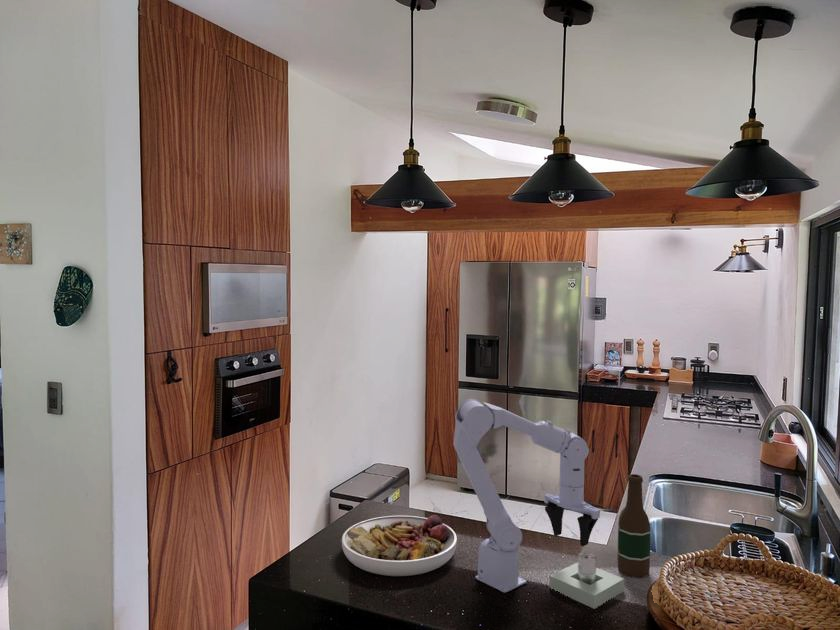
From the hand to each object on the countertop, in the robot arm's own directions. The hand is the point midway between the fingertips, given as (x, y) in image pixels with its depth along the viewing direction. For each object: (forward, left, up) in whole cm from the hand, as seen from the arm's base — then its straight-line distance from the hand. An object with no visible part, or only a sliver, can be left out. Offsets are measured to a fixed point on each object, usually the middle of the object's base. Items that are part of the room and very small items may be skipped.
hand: (570, 539), depth 147 cm
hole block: (+6, -2, -9) cm, 11 cm away
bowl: (-37, -23, -10) cm, 45 cm away
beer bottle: (+8, +15, -10) cm, 20 cm away
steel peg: (+6, -2, -9) cm, 11 cm away
